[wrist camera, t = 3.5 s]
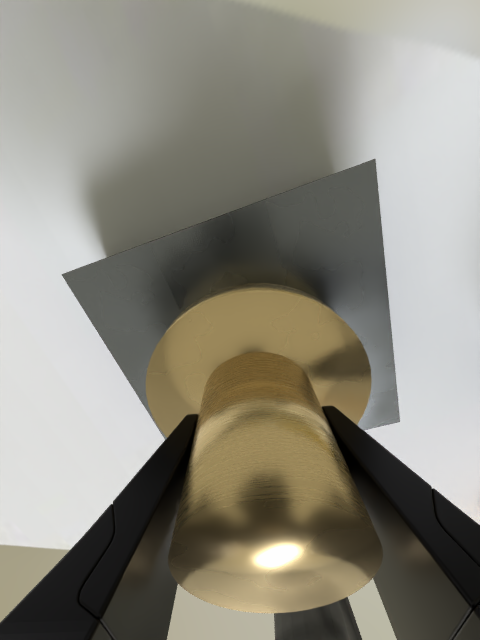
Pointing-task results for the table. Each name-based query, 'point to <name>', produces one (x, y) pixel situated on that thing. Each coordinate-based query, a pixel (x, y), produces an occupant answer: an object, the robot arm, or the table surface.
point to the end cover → (265, 450)
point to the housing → (256, 275)
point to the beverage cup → (318, 623)
